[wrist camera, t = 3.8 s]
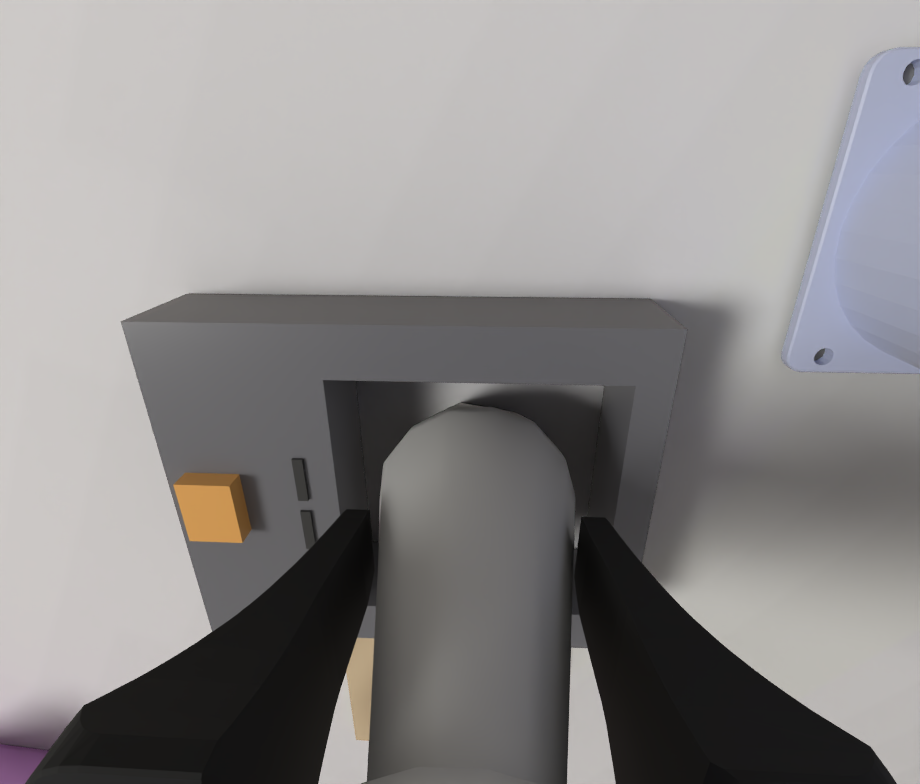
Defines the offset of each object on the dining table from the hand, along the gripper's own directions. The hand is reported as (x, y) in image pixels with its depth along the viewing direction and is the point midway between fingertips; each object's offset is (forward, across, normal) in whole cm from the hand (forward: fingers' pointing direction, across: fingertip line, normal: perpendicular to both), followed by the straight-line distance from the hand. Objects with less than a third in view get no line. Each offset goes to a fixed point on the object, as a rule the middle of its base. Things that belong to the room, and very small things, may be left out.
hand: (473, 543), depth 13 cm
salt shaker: (+5, 0, 0) cm, 5 cm away
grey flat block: (+4, +2, 0) cm, 5 cm away
